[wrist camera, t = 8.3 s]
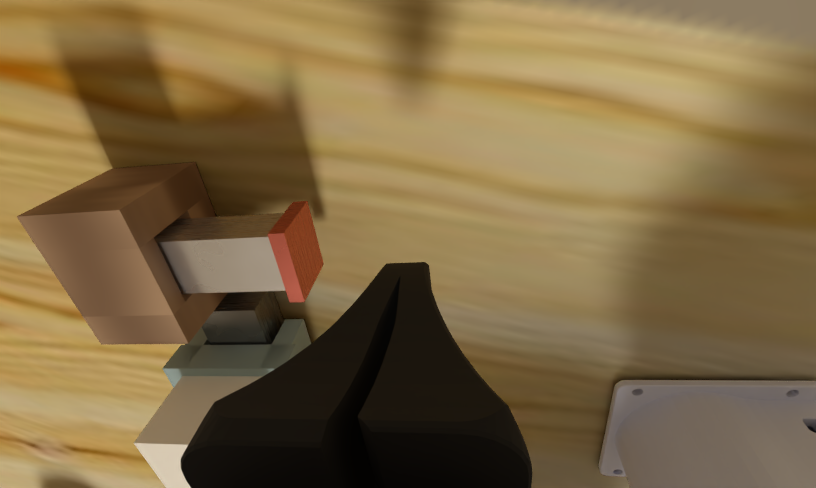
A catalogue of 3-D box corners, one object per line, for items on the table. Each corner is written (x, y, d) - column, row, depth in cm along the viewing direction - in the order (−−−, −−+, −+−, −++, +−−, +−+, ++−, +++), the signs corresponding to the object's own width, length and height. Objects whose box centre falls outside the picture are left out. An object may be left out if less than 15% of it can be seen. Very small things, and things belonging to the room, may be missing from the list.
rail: (271, 284, 21) (254, 310, 19) (338, 478, 29) (330, 508, 27) (215, 286, 21) (194, 311, 19) (298, 477, 30) (288, 506, 28)
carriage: (307, 319, 21) (251, 438, 15) (327, 385, 24) (286, 509, 18) (200, 320, 22) (109, 434, 16) (230, 385, 25) (162, 503, 19)
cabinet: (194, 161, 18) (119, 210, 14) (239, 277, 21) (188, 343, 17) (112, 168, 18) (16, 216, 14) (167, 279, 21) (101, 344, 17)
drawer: (307, 201, 16) (283, 233, 14) (323, 263, 18) (304, 301, 16) (179, 208, 17) (137, 240, 15) (205, 268, 19) (171, 305, 16)
